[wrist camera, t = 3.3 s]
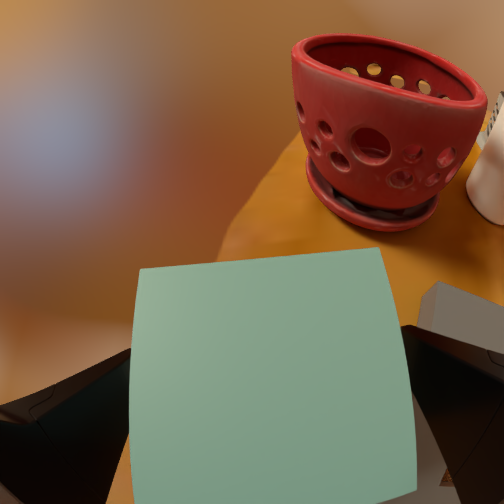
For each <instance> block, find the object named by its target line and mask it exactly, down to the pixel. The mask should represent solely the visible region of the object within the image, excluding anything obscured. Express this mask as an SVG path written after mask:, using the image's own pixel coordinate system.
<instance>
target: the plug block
mask: <svg viewBox="0 0 504 504" xmlns="http://www.w3.org/2000/svg"><path fill="white" fill-rule="evenodd" d="M129 438H130V459H131V473H132V484H133V494H134V502H135V504H377V503H380V502H384V501H387V500H390V499H393V498H396V497H399V496H402V495H405V494H408V493H410V492H413V491H416V490H417V453H416V434H415V422H414V411H413V402H412V394H411V386H410V379H409V373H408V366H407V361H406V355H405V349H404V344H403V339H402V334H401V329H400V325H399V320H398V316H397V312H396V307H395V303H394V299H393V295H392V291H391V288H390V284H389V280H388V277H387V273H386V270H385V266H384V263H383V259H382V256H381V253H380V250H379V247H375V248H365V249H355V250H345V251H334V252H324V253H314V254H303V255H293V256H282V257H271V258H260V259H250V260H239V261H227V262H216V263H205V264H194V265H182V266H171V267H159V268H147V269H140V274H139V281H138V288H137V296H136V304H135V313H134V323H133V335H132V346H131V361H130V384H129Z"/></svg>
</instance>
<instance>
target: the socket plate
mask: <svg viewBox="0 0 504 504" xmlns="http://www.w3.org/2000/svg"><path fill="white" fill-rule="evenodd" d="M417 327H419V328H422V329H425V330H428V331H431V332H434V333H438V334H441V335H444V336H447V337H450V338H453V339H456V340H459V341H463V342H466V343H469V344H472V345H475V346H479V347H482V348H485V349H486V350H487V349H488V350H492V351H495V352H498V353H502V354H504V307H503V306H500V305H498V304H496V303H493V302H491V301H488V300H486V299H483V298H481V297H478V296H476V295H473V294H471V293H468V292H466V291H463V290H461V289H458V288H456V287H453V286H451V285H448V284H446V283H443V282H440V281H437V282H436V284H435V285H434V286H433V287H432V288H431V289H430V290H429V291H428V292H427V293H426V294H425V295H424V296H422V301H421V307H420V312H419V318H418V323H417ZM411 394H412V402H413V411H414V422H415V434H416V453H417V490H416V491H413V492H410V493H408V494H405V495H402V496H399V497H396V498H393V499H390V500H387V501H384V502H380V503H377V504H461V503H460V500H459V497H458V494H457V492H456V489H455V486H454V484H453V482H447V481H441V480H442V478H443V476H444V473H445V471H446V469H447V466H446V463H445V461H444V459H443V456H442V454H441V452H440V449H439V447H438V445H437V443H436V440H435V438H434V436H433V434H432V432H431V429H430V427H429V425H428V423H427V421H426V419H425V417H424V415H423V413H422V411H421V409H420V406H419V404H418V402H417V400H416V398H415V396H414V394H413V393H412V391H411Z"/></svg>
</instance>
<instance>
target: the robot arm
mask: <svg viewBox="0 0 504 504" xmlns="http://www.w3.org/2000/svg"><path fill="white" fill-rule="evenodd" d="M400 329H401V334H402V339H403V344H404V349H405V355H406V361H407V366H408V373H409V379H410V386H411V391H412V393H413V394H414V396H415V398H416V400H417V402H418V404H419V406H420V409H421V411H422V413H423V415H424V417H425V419H426V421H427V423H428V425H429V427H430V429H431V432H432V434H433V436H434V438H435V440H436V443H437V445H438V447H439V449H440V452H441V454H442V456H443V459H444V461H445V463H446V466H447V468H448V471H449V473H450V476H451V478H452V481H453V484H454V486H455V489H456V492H457V494H458V497H459V500H460V503H461V504H504V354H502V353H498V352H495V351H492V350H488V349H487V350H486V349H485V348H482V347H479V346H475V345H472V344H469V343H466V342H463V341H459V340H456V339H453V338H450V337H447V336H444V335H441V334H438V333H434V332H431V331H428V330H425V329H422V328H419V327H416V326H413V325H406V326H401V327H400ZM130 361H131V348H129V349H127V350H124V351H122V352H120V353H118V354H116V355H114V356H112V357H110V358H108V359H106V360H104V361H102V362H100V363H98V364H96V365H94V366H92V367H90V368H87V369H85V370H83V371H81V372H79V373H77V374H75V375H73V376H71V377H69V378H67V379H64V380H62V381H60V382H58V383H56V384H54V385H51V386H49V387H47V388H45V389H43V390H40V391H38V392H36V393H33V394H30V395H28V396H25V397H23V398H20V399H17V400H14V401H12V402H9V403H6V404H3V405H0V504H106V501H107V498H108V494H109V491H110V488H111V485H112V482H113V478H114V475H115V472H116V469H117V466H118V463H119V460H120V457H121V454H122V451H123V448H124V445H125V443H126V440H127V437H128V434H129V384H130Z"/></svg>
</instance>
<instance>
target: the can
mask: <svg viewBox="0 0 504 504" xmlns="http://www.w3.org/2000/svg"><path fill="white" fill-rule="evenodd" d="M466 189H467V194H468V197H469V199H470V201H471V203H472V205H473V206H474V208H475V209H476V210H477V211H478V212H479V213H480V214H481V215H482V216H483V217H484V218H485V219H487V220H488V221H490V222H491V223H494V224H497V225H504V102H503V104H502V106H501V109H500V111H499V114H498V116H497V118H496V121H495V123H494V125H493V128H492V130H491V132H490V135H489V137H488V139H487V141H486V143H485V145H484V147H483V150H482V152H481V154H480V156H479V158H478V160H477V162H476V164H475V166H474V168H473V170H472V172H471V173H470V175H469V177H468V179H467V182H466Z"/></svg>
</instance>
